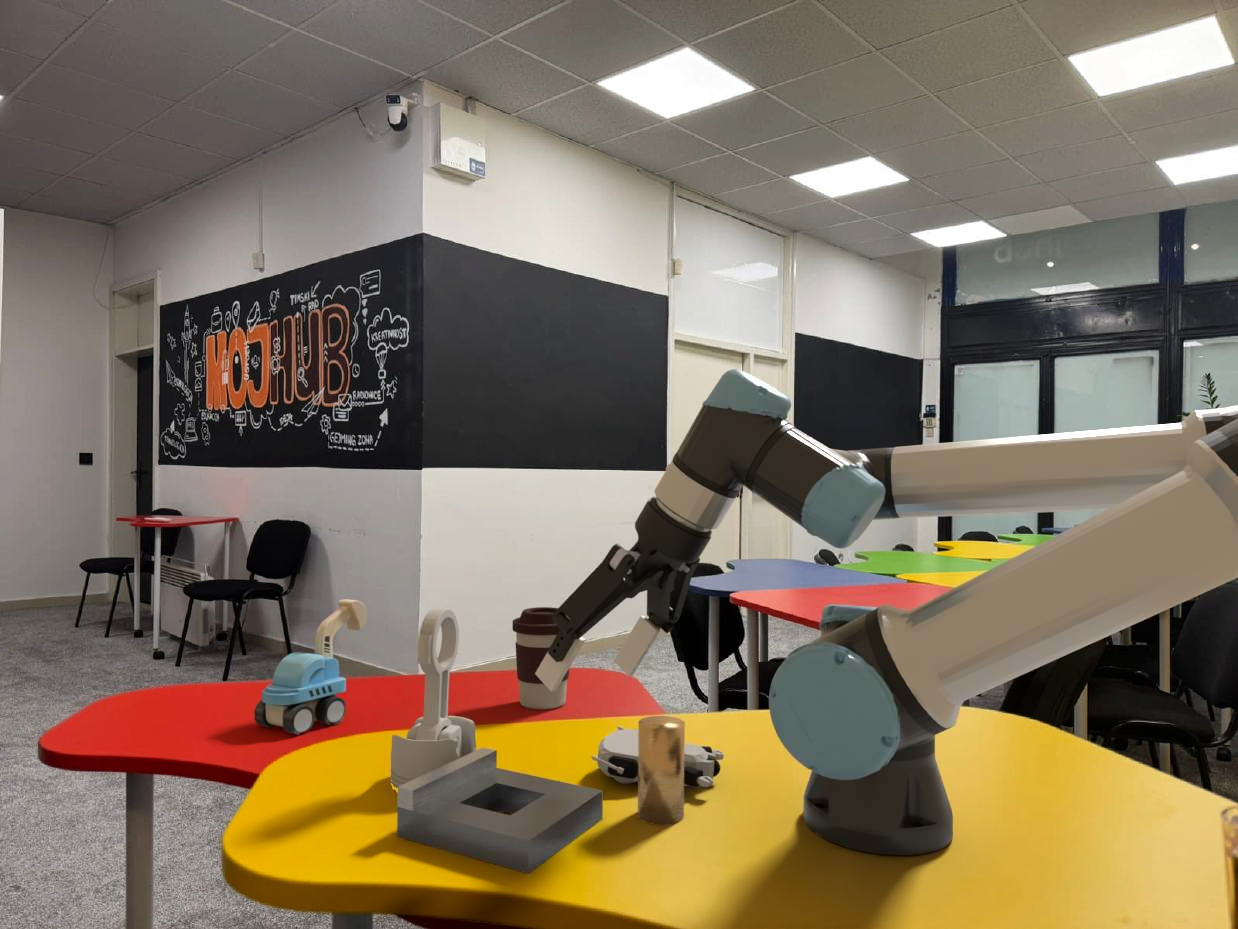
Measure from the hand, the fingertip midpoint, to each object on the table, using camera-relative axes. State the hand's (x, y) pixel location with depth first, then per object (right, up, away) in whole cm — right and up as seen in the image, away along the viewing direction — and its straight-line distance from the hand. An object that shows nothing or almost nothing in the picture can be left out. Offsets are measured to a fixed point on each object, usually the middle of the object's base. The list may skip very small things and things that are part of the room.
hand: (586, 675), depth 90 cm
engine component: (-19, -15, +9) cm, 26 cm away
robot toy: (+8, -16, +11) cm, 21 cm away
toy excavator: (-41, -15, +33) cm, 55 cm away
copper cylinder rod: (+8, -15, 0) cm, 17 cm away
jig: (-9, -15, -4) cm, 18 cm away
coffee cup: (-9, -16, +43) cm, 46 cm away
